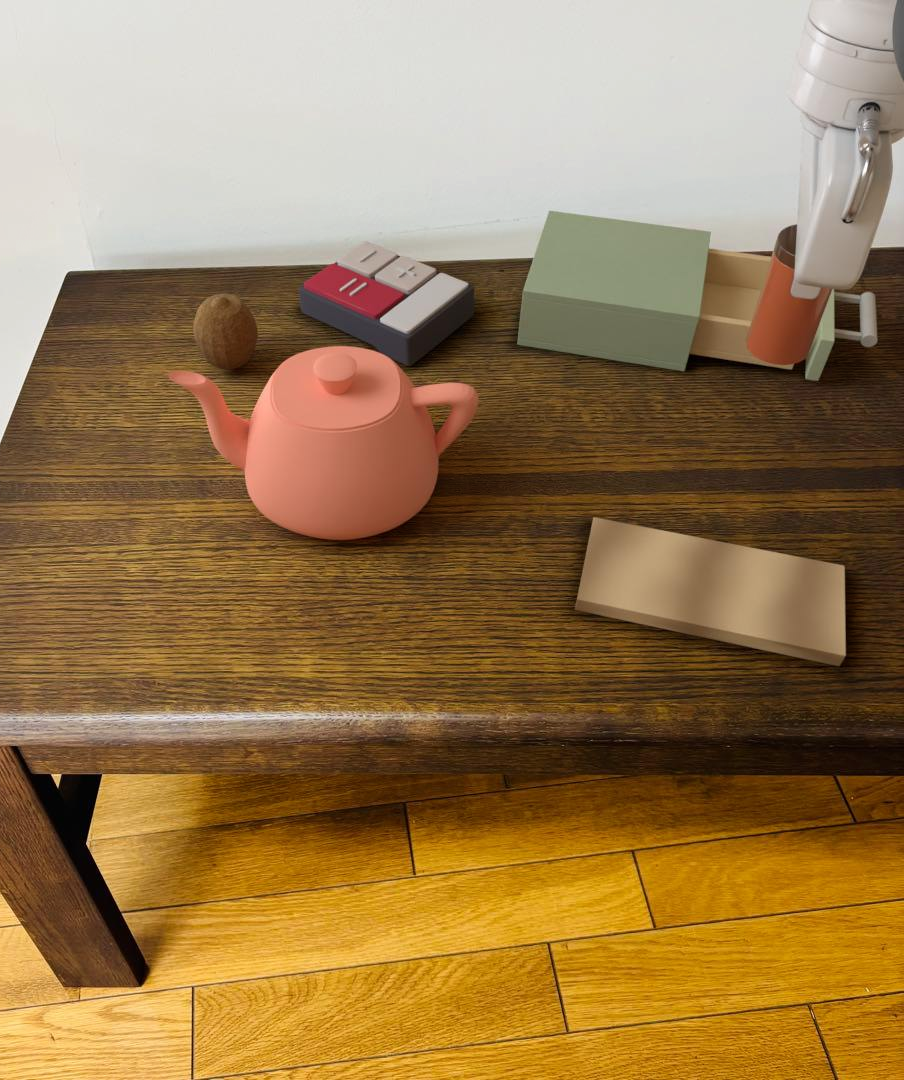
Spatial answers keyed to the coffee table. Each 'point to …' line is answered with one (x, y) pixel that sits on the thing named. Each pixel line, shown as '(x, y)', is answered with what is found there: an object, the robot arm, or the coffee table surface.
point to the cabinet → (615, 290)
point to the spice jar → (784, 310)
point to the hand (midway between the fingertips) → (804, 267)
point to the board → (715, 590)
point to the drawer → (734, 303)
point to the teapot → (337, 441)
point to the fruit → (225, 331)
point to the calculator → (388, 301)
